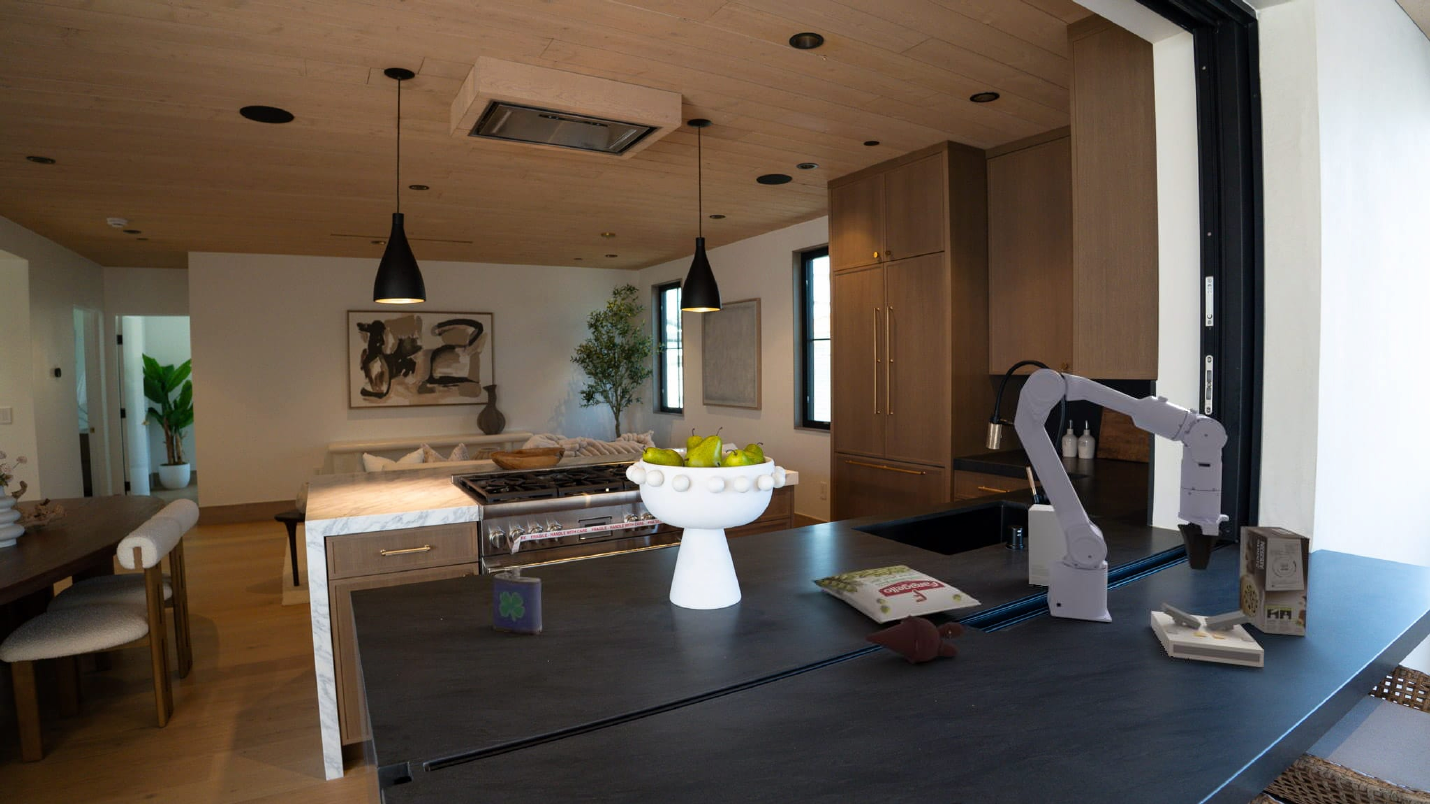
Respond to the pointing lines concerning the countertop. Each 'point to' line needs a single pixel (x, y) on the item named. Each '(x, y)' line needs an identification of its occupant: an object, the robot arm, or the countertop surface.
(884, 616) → the frozen beans
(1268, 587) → the coffee box
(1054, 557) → the skincare box
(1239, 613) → the rocker right
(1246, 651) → the console
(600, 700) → the countertop surface
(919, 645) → the icecream
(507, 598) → the flask
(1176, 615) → the block
